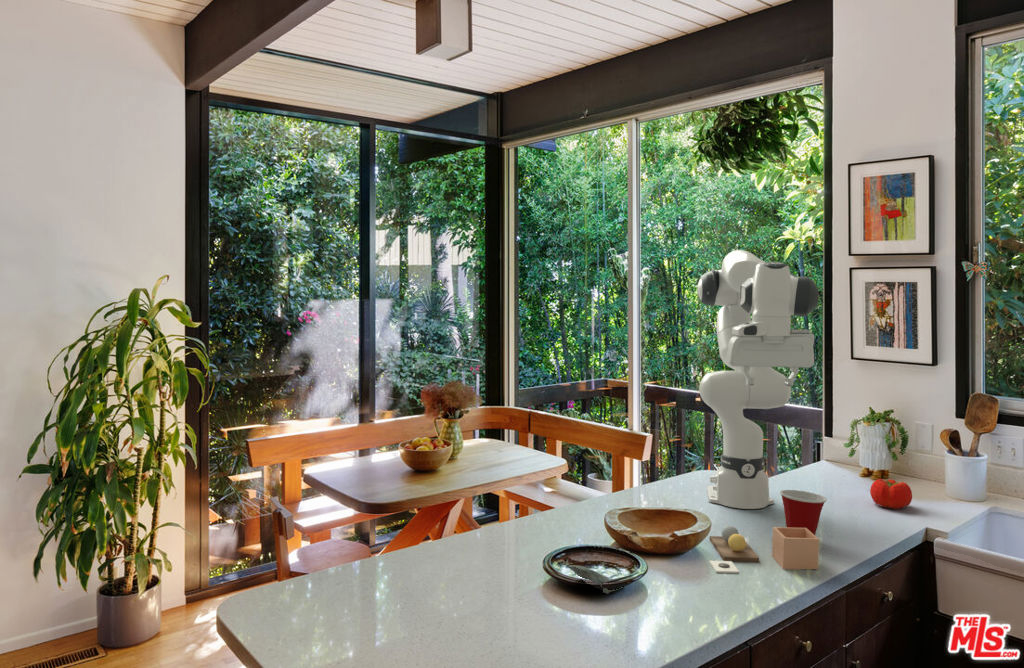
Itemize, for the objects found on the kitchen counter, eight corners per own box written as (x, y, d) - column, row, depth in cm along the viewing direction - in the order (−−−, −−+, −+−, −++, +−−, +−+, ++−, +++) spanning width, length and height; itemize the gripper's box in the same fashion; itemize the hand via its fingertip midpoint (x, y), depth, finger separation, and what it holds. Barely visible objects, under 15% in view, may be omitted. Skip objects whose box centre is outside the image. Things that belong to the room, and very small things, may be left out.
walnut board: (709, 540, 178) (709, 536, 178) (741, 540, 177) (742, 536, 177) (723, 561, 164) (723, 556, 164) (759, 562, 163) (759, 557, 163)
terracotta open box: (771, 556, 167) (772, 527, 167) (805, 557, 167) (806, 527, 166) (783, 569, 159) (784, 538, 159) (818, 569, 159) (819, 539, 159)
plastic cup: (835, 545, 175) (837, 497, 174) (802, 551, 171) (804, 502, 170) (800, 531, 185) (802, 486, 184) (768, 536, 181) (770, 490, 180)
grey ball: (719, 539, 176) (720, 523, 175) (736, 539, 175) (736, 523, 175) (723, 544, 172) (724, 528, 171) (740, 545, 171) (741, 528, 171)
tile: (709, 562, 163) (709, 559, 163) (731, 563, 163) (731, 560, 163) (715, 572, 157) (716, 570, 157) (738, 573, 157) (738, 570, 157)
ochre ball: (726, 547, 170) (726, 531, 169) (742, 548, 169) (743, 531, 169) (730, 553, 166) (730, 537, 165) (747, 554, 166) (748, 537, 165)
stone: (587, 577, 157) (557, 574, 150) (592, 559, 157) (562, 556, 151) (624, 597, 149) (593, 596, 142) (629, 579, 149) (599, 577, 143)
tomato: (918, 507, 207) (919, 482, 207) (898, 514, 201) (899, 488, 200) (881, 498, 216) (883, 474, 215) (862, 504, 210) (863, 479, 209)
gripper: (809, 328, 176) (807, 384, 176) (725, 327, 176) (724, 383, 177) (819, 329, 169) (817, 387, 170) (732, 328, 170) (731, 386, 170)
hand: (769, 385), depth 173 cm, fingers open, 8 cm apart
